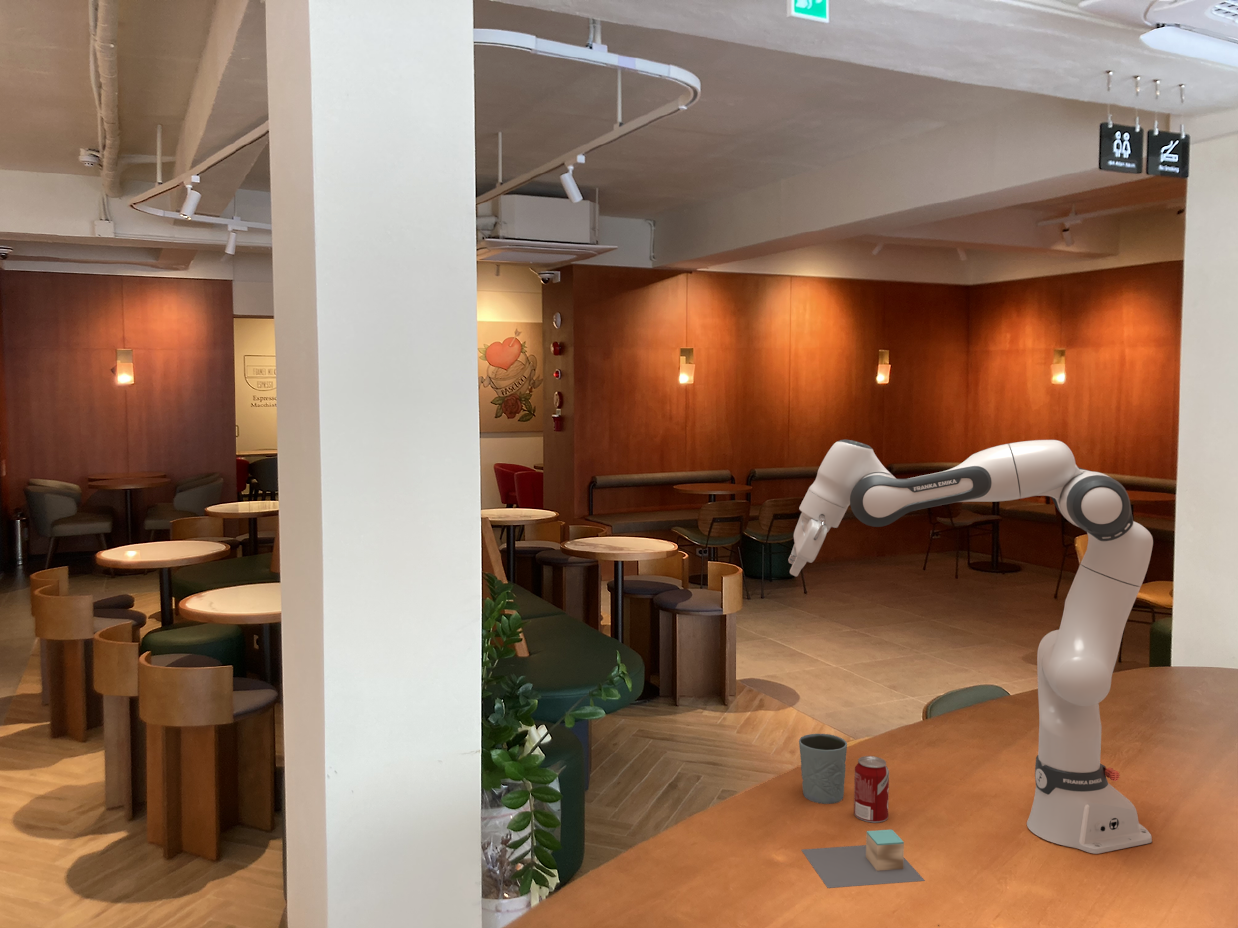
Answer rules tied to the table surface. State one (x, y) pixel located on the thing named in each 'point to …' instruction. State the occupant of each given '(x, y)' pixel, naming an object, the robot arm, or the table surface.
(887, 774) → the soda can
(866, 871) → the rubber mat
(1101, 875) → the table surface
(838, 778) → the grey blue cup
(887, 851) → the maple cube
